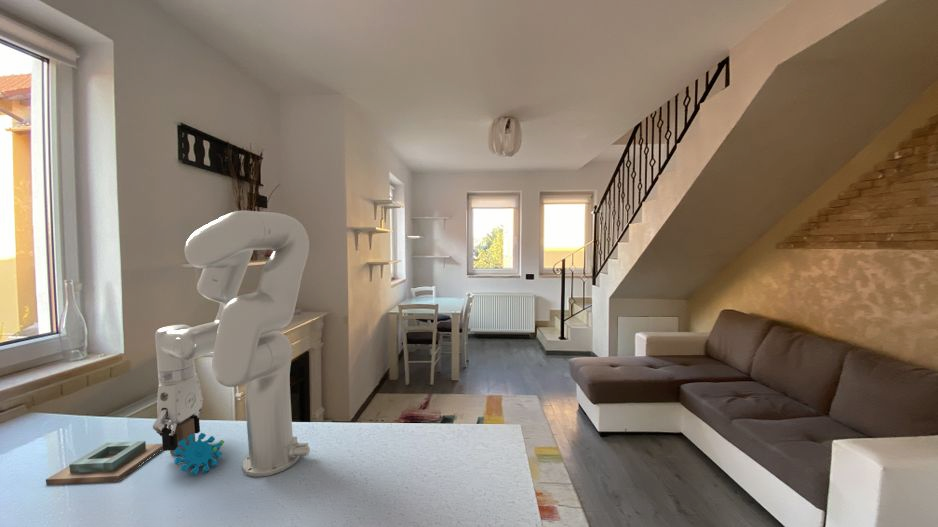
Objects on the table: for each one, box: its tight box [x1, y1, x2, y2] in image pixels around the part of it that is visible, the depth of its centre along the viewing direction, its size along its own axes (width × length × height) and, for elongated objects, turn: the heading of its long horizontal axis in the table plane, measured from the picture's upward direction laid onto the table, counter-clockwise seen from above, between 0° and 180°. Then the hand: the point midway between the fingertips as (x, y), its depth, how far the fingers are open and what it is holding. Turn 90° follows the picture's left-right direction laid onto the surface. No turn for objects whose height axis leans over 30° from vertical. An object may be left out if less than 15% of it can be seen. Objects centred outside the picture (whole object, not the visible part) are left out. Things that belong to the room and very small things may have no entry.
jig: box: [45, 440, 163, 485], centre depth 94 cm, size 16×14×3 cm
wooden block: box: [167, 418, 197, 455], centre depth 99 cm, size 4×4×8 cm
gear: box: [173, 432, 225, 476], centre depth 92 cm, size 11×6×10 cm
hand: (182, 440), depth 99 cm, fingers open, 7 cm apart
